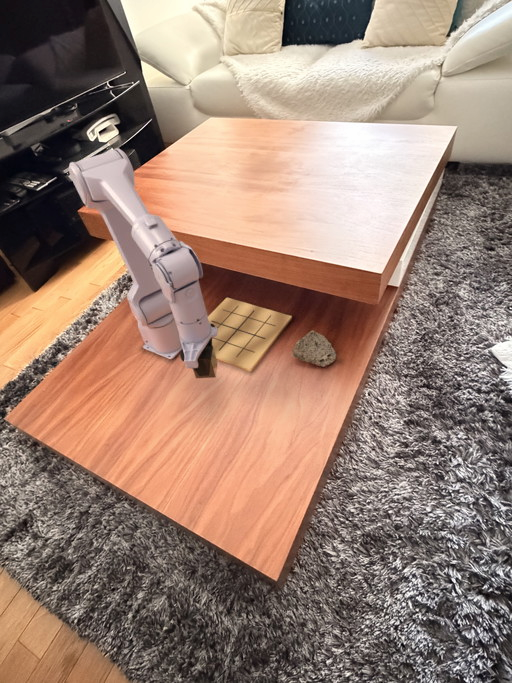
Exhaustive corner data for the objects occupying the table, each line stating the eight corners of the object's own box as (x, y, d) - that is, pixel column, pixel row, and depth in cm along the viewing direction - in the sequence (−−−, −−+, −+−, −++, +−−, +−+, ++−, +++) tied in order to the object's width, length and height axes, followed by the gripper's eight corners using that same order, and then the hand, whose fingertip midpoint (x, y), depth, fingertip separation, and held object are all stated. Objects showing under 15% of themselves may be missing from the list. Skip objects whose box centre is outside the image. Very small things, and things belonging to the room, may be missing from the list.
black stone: (215, 377, 77) (211, 360, 73) (195, 378, 77) (190, 361, 74) (217, 362, 80) (213, 345, 76) (198, 363, 80) (193, 346, 76)
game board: (181, 345, 95) (181, 343, 94) (227, 299, 106) (226, 296, 106) (250, 372, 86) (250, 369, 85) (292, 318, 98) (292, 315, 97)
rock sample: (331, 368, 79) (310, 330, 80) (302, 381, 84) (283, 345, 84) (349, 354, 87) (330, 320, 88) (322, 366, 92) (304, 334, 92)
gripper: (207, 340, 62) (222, 393, 72) (216, 287, 73) (228, 339, 82) (165, 343, 63) (184, 395, 72) (180, 290, 73) (195, 341, 83)
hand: (205, 366), depth 77 cm, fingers closed on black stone, 4 cm apart
